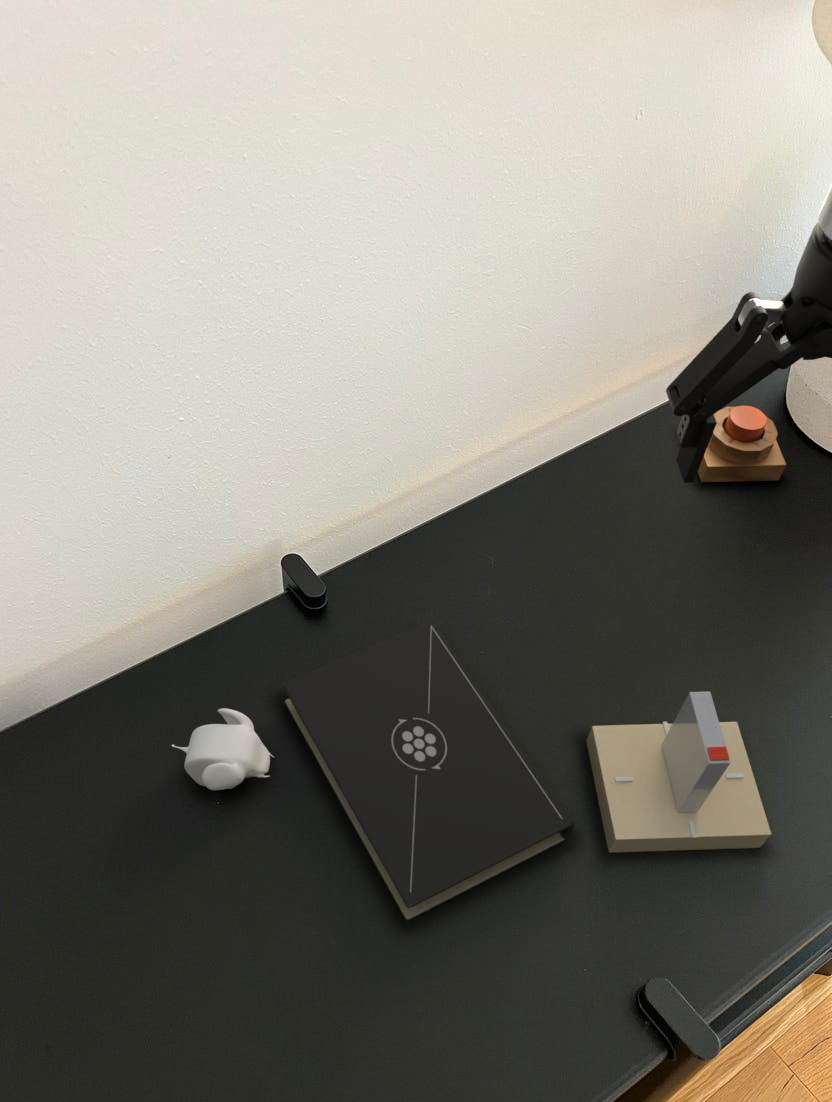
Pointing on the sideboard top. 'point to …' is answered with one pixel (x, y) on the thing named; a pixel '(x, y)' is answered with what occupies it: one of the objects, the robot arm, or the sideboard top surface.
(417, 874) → the book
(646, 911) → the sideboard top surface
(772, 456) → the button block
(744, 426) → the button
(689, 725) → the grey rectangular block
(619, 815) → the panel
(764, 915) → the sideboard top surface
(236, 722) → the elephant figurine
